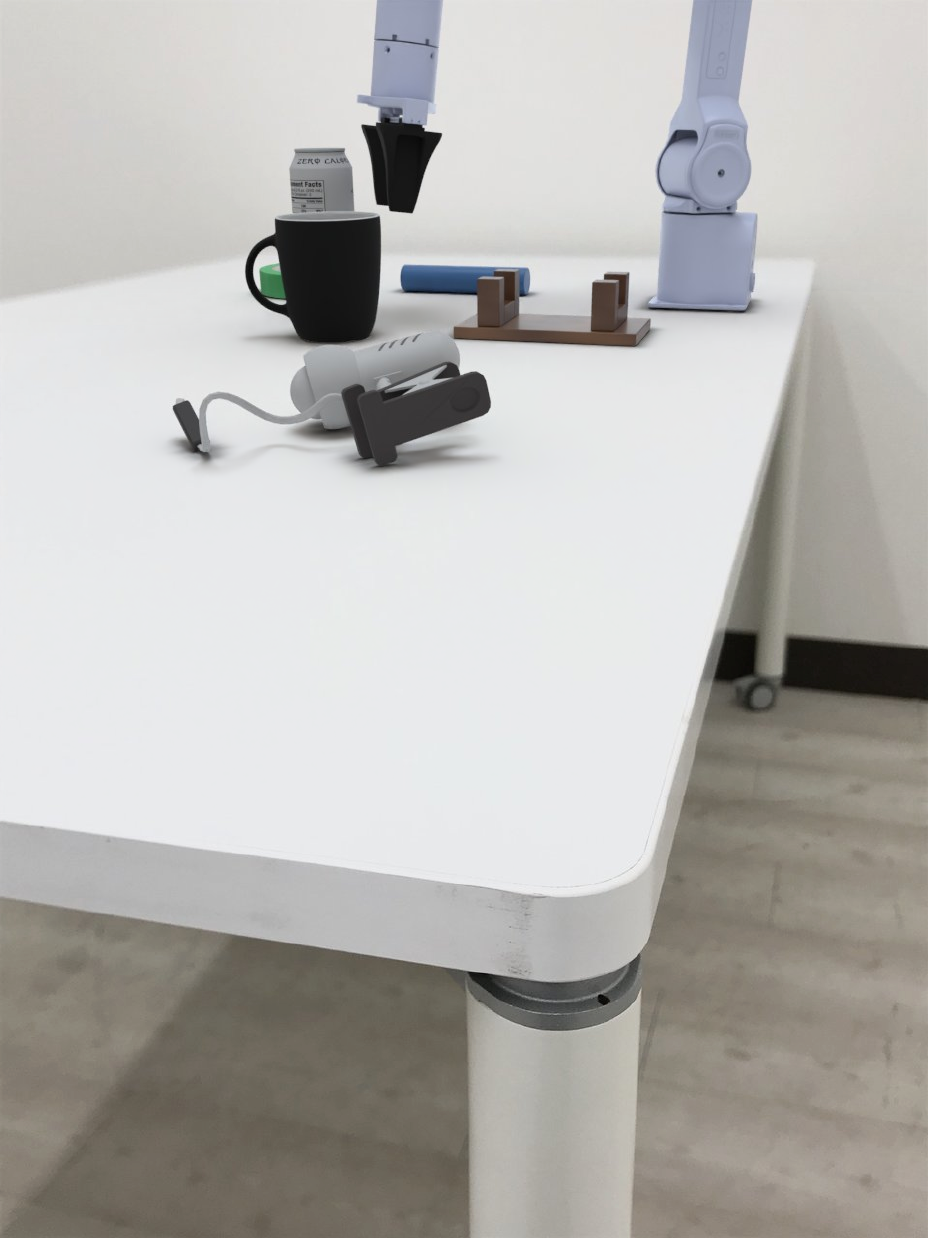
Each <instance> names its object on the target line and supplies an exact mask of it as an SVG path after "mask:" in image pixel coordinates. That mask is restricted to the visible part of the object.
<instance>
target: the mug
mask: <svg viewBox="0 0 928 1238" xmlns="http://www.w3.org/2000/svg"><path fill="white" fill-rule="evenodd" d="M380 215H381V214H379V213H378V212H377V213H376V212H370V211H355V210H354V211H330V212H306V213H293V212H292V213H286V214H280V215H276V216H275V217H274V230H275V231H274V233H273V234H271V235H268V236H266V237H265V238H262V239H261V240H259V242H257V243H255V245H253V247H252V249H250V251H249V254H248V255H247V257H246V260H245V268H244V275H245V281H246V285H247V287H248V290H249V292H250V294H251V295H252V296H253V298H254V300H256V301H257V302H258V303H259V304H260V305H261V306H262V307H263V308H265V309H267V310H269V311H271V312H274V313H277V314H280V315H283V316H285V317H287V319H288V318H289V320H290V322H291V324H292V326H293V329H294V331H295V332H296V334H297V335H298V338H300V339H301V340H303V341H306V342H310V343H321V344H335V343H337V344H339V343H349V342H356V341H360V340H364V339H366V338H368V337H370V336H371V334H372V332H373V330H374V327H375V323H376V319H377V315H378V309H379V298H380V288H381V272H382V271H381V270H382V269H381V267H382V227H381V226H382V225H381V216H380ZM268 247H274V249H275V250H276V253H277V257H278V263H279V264H280V271H281V277H282V282H283V288H284V293H285V298H286V299H285V303H284V304H279V303H276V302H273V301H271V300H270V299H268V298H267V296H265V295H263V294H262V293H261V290H260V289H259V288H258V285H257V283H256V279H255V275H254V267H255V262H256V259H257V257H258V256H259V255H260V253H261V252H262V251H263V250H265V249H266V248H268Z"/></svg>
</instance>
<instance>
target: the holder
mask: <svg viewBox="0 0 928 1238" xmlns="http://www.w3.org/2000/svg"><path fill="white" fill-rule="evenodd" d="M630 275H631V274H630V272H629V271H606V272H605V273H603V279H595V280H593V281H592V282H591V306H590V307H591V308H590V309H591V310H590V315H572V314H571V315H569V314H545V313H543V314H542V313H541V314H539V313H520V295H519V269H497V270H495V271H494V277H485V276H483V277H480V278H478V279H477V293H476V299H477V300H476V303H477V304H476V305H477V306H476V307H477V308H476V309H477V310H476V311H477V313H476V314H474V315H472V316H471V317H469V318H467V319H465V320H464V321H463V320H462V321H461V322H459V323H458V324H456V325H455V326H453V338H454V339H463V340H464V339H465V340H485V341H487V340H488V341H511V342H532V343H533V342H535V343H555V344H560V343H561V344H575V345H576V344H578V345H579V344H581V345H602V346H603V345H604V346H623V347H628V346H629V347H636V346H637V345H638V344H639V343H640V342H641V341H642V339H643V338H644V337H645V336H646V335H647V334H648V332H650V330H651V323H652V319H651V318H649V317H628V314H629V313H628V312H629V294H630Z"/></svg>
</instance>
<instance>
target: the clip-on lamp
mask: <svg viewBox="0 0 928 1238" xmlns="http://www.w3.org/2000/svg"><path fill="white" fill-rule="evenodd" d="M302 359H303V362H304V366H302V367H301V368H299V369H298V370H297V371H296V373H295V374H294V376H293V377H292V380H291V382H290V387H289V392H290V395H289V396H290V399H291V401H292V402H291V403H292V404H293V406H294V407H295V409H296V410H297V411H298V412H299V413H298V414H293V415H287V416H285V415H284V416H281V415H275V414H273V413H270V412H267V411H265V410H263V409H261V408H259V407H257V405H255V404H252V403H251V402H249V401H247V400H245V399H243V398H242V397H240V396H238V395H235V394H232V393H230V392H225V391H215V392H212V393H209V394H208V395H206V396H205V397H204V398H203V399H202V401H201V404H200V406H199V410H198V411H199V413H198V414H197V413H196V410H195V409H194V406H193V405H192V403H191V402H190V400H187V399H184V398H182V397H177V398H176V399H175V404H173V405H172V411H173V413H174V415H175V417H176V420H177V421H178V424H179V425H180V427H181V429H182V432H183V434H184V435H185V437H186V439H187V441H188V443H189V445H190V447H191V449H192V450H193V451H194V452H195V451H200V452H202V453H209V452H211V451H212V449H211V440H210V438H209V437H210V436H209V431H208V426H207V410H208V406H209V404H210V403H212V401H214V400H218V399H219V400H225V401H228V402H231V403H233V404H235V405H237V406H239V407H241V408H242V409H244V410H246V411H247V412H249V413H251V414H252V415H254V416H256V417H258V418H260V419H262V420H264V421H266V422H270V423H272V424H277V425H295V424H299V423H300V424H301V423H303V422H306V421H308V420H310V419H312V420H321V422H322V425H323V428H324V429H325V430H340V429H345V428H348V427H350V429H351V433H352V436H353V440H354V443H355V447H356V449H357V453H358V455H359V456H360V457H361V458H363V459H369V458H371V457H373V460H374V463H376V465H377V466H379V467H384V466H386V465H389V464H392V463H394V462H396V461H397V459H398V452H397V448H396V447H398V446H400V445H404V444H406V443H410V442H412V441H415V440H418V439H422V438H423V437H426V436H429V435H432V434H435V433H437V432H440V431H444V430H447V429H450V428H451V427H456V426H458V425H461V424H464V423H466V422H470V421H472V420H475V419H479V418H480V417H484V416H485V415H486V414H488V413H489V412H490V409H491V407H492V399H491V395H490V391H489V386H488V382H487V379H486V377H485V375H484V374H482V373H481V372H479V371H476V370H474V371H469V372H465V373H463V374H461V371H460V366H461V354H460V350H459V347H458V345H457V343H456V341H455V340H454V339H453V338H452V337H451V336H450V335H449V334H448V333H446V332H444V331H442V330H440V329H432V330H428V331H423V332H421V333H417V334H413V335H409V336H406V337H401V338H398V339H394V340H391V341H388V342H383V343H380V344H379V343H378V344H375V345H372V346H369V347H364V348H360V349H356V350H352V349H351V348H349V347H347V346H342V345H339V344H324V345H319V346H317V347H313V348H312V349H310V350H308V351H307V352H306V353H304V354H303V355H302Z"/></svg>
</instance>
